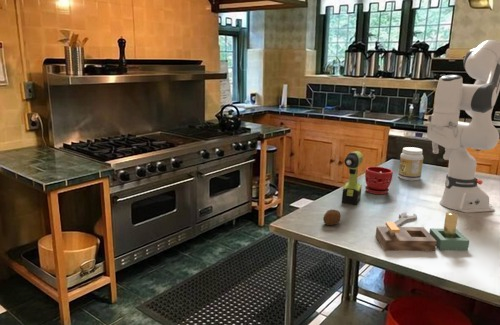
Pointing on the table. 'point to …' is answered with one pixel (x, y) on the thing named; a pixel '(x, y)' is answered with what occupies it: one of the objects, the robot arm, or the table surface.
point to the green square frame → (450, 240)
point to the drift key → (392, 228)
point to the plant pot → (378, 179)
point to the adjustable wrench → (405, 219)
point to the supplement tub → (411, 163)
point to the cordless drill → (352, 179)
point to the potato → (332, 217)
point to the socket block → (406, 239)
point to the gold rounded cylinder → (450, 225)
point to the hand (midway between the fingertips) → (440, 156)
